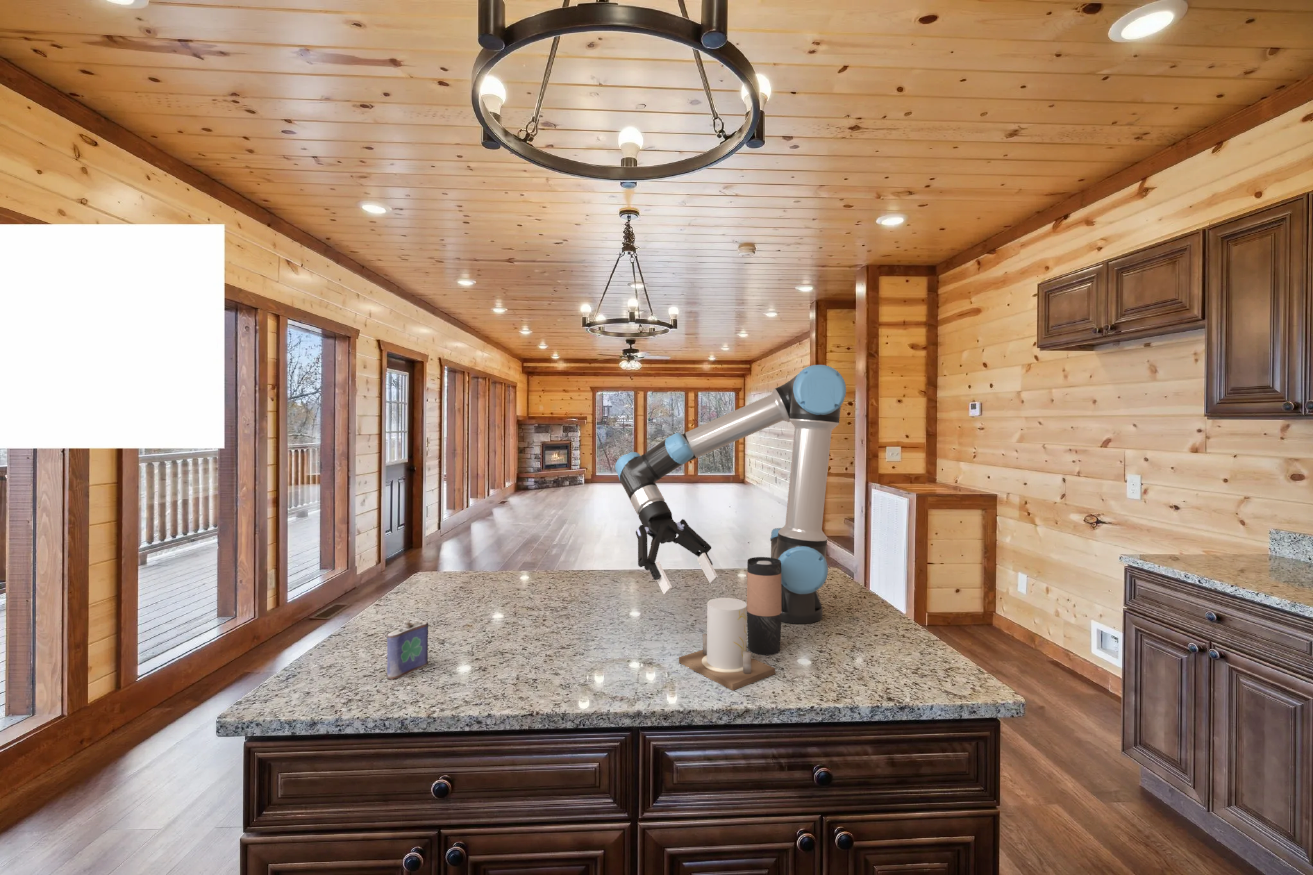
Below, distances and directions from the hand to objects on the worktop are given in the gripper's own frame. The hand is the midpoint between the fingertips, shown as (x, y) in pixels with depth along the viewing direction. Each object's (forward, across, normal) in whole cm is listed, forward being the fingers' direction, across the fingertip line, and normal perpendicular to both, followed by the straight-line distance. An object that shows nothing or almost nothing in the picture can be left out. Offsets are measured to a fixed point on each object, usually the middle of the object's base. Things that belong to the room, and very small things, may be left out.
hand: (691, 585), depth 128 cm
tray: (+18, +1, -2) cm, 18 cm away
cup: (+17, 0, -1) cm, 17 cm away
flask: (-8, +53, -30) cm, 62 cm away
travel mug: (+17, -13, -4) cm, 22 cm away
